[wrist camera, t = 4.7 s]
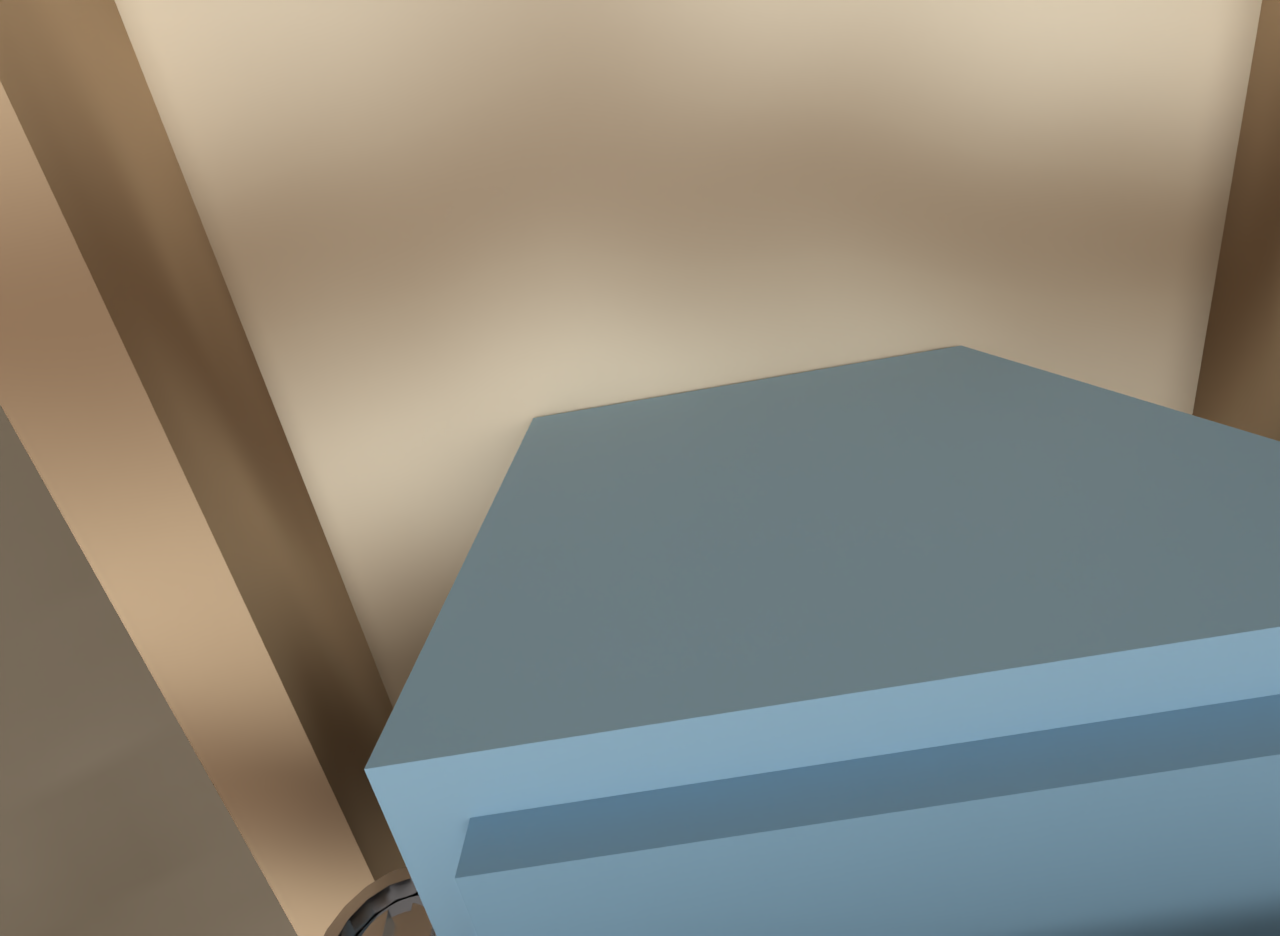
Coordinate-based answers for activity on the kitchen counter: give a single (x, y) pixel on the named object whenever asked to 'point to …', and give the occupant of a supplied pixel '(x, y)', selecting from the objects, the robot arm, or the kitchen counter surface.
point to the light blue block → (856, 669)
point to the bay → (554, 286)
